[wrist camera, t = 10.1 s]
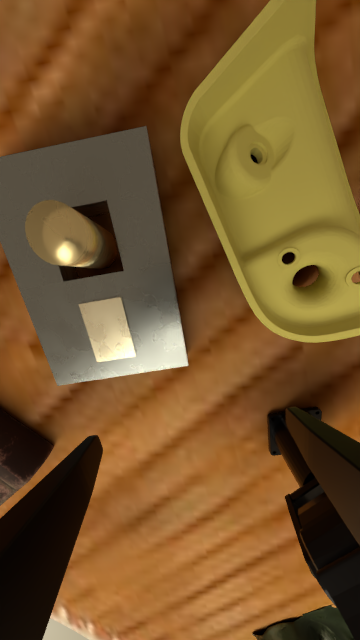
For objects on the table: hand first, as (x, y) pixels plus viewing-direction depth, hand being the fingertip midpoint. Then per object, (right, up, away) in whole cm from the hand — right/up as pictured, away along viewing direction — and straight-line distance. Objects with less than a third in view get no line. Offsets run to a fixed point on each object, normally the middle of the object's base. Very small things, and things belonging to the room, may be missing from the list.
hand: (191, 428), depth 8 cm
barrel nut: (-9, +12, +9) cm, 18 cm away
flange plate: (-8, +9, +10) cm, 16 cm away
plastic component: (+8, +15, +9) cm, 19 cm away
